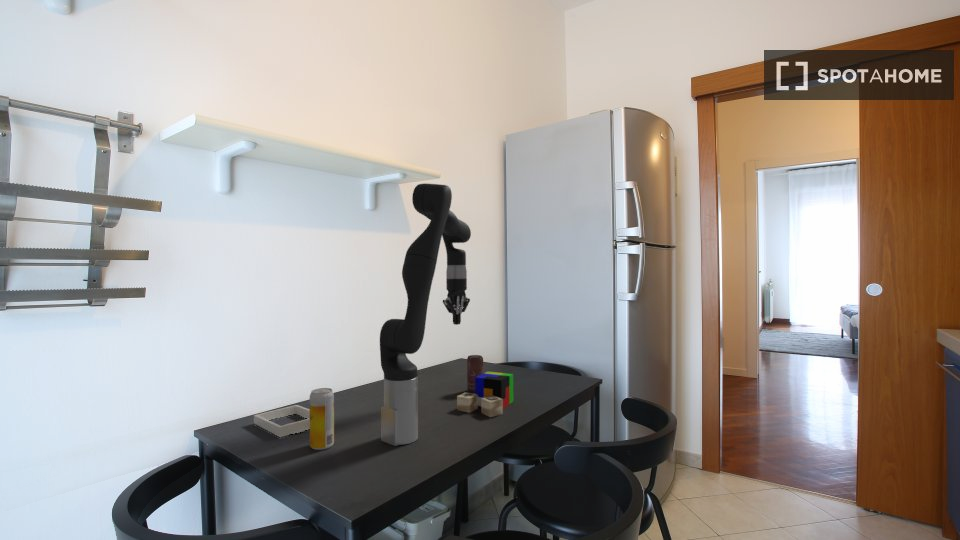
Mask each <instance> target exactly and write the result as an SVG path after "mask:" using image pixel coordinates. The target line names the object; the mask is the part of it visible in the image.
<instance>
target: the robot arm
mask: <svg viewBox="0 0 960 540" xmlns="http://www.w3.org/2000/svg"><path fill="white" fill-rule="evenodd" d="M452 199H453V193H452V190H451V187H450V186H449V185H446V184H437V183H420V184H417V185H416V186H415V187H414V188H413V193H412V199H411V201H412V205H413V208H414V209H415V211H416V212H417V213H419V214H421V216H424V217H425V218H426V219H428V220H430V222H429V224H428V225H427V227H426V228H425V229H424V230H423V231H422V233H421V234H419V235H418V236H417V238H416V239H415V240H413V242H412V243H411V244H410V246H409V247H408V248H407V250H406V253H405V256H404V262H403V265H402V270H401V271H402V272H401V275H402V276H401V277H402V281H403V285H404V288H405V292H406V295H407V307H406V311H405V317H404V319H403V318H391V319H387V320H386V321H385V322H384V323H383V325H382V326H381V328H380V332H379V333H380V334H379V351H380V352H379V353H380V354H379V355H380V366H381V369H382V371H383V405H382V406H381V407H380V428H381V429H380V434H381V435H380V439H381V442H384V443H386V444H388V445H391V446H393V447H397V446H400V445H408V444H411V443H414V442H416V441H417V440H418V439H419V435H418V434H419V416H418V415H419V410H418V409H419V408H418V407H419V405H418V404H419V403H418V402H419V401H418V396H419V395H418V393H419V392H418V390H419V388H418V387H419V385H418V384H419V383H418V381H419V380H418V378H419V377H418V376H419V375H418V372H419V371H418V367H417V365H416V364H415V363H413V362H412V361H411V360H410V359H409V358H408V357H407V355H412V354H415V353H417V352H418V351H419V350H420V349H421V346H422V345H423V341H424V337H425V329H426V321H427V313H428V312H427V311H428V305H429V301H430V300H429V299H430V293H431V290H432V289H431V288H432V284H433V280H434V276H435V272H436V267H437V263H438V257H439V250H440V245H441V241H443V243H444V247H445V251H446V252H445V253H446V272H445V274H446V291H448V292H447V295H446V296H447V297H446V298H445V299H442V304H443V306H444V307H445V308H446V310H447V312H448V313H449V314H452V323H453V325H460V324H461V322H462V313H465V311H466V310H467V308H468V306H469V303H470V302H471V299H470V298H468V297H467V294H466V291H467V290H468V289H467V288H468V287H467V285H468V284H467V283H468V281H467V280H468V279H467V276H468V274H467V272H468V271H467V253H466V250H464V249H460V248H455V246H454V244H464V243H467V242H468V241H469V240H470V238H471V237H472V235H471V234H472V232H471V231H472V230H471V229H470V226H469V225H468V224H467V223H466V222H464V221H463V220H461V219H460V218H458V217H457V216H456V214H455V213H454V212H453V211H451V210H450V209H451V206H452Z"/></svg>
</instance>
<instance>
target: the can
mask: <svg viewBox="0 0 960 540" xmlns="http://www.w3.org/2000/svg"><path fill="white" fill-rule="evenodd" d="M481 374H484V358H483V355H480V354H479V355H478V354H471V355H468V356H467V359H466V380H467V381H466V383H467V384H466V385H467V387H466V391H467V393H471V394H475V377H477V376H479V375H481Z"/></svg>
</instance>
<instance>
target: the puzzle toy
mask: <svg viewBox="0 0 960 540" xmlns="http://www.w3.org/2000/svg"><path fill="white" fill-rule="evenodd" d="M475 394H477V395H478V407H481V398H485V397H490V396H495V397H498V398H501V399H503V409H505V408H506V407H508V406H509V405H511V404H512V403H514V373H508V372H507V373H504V372H495V371H485V372H483V374H481V375H479V376H477V377H475Z"/></svg>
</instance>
